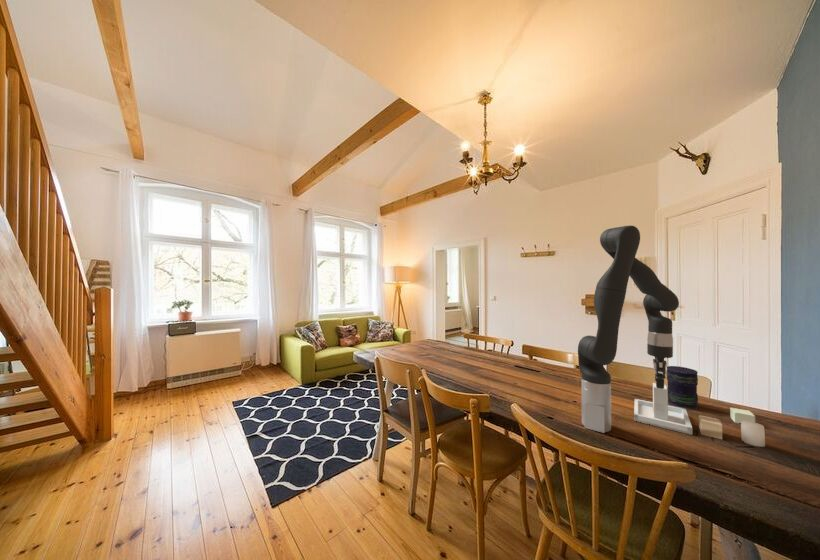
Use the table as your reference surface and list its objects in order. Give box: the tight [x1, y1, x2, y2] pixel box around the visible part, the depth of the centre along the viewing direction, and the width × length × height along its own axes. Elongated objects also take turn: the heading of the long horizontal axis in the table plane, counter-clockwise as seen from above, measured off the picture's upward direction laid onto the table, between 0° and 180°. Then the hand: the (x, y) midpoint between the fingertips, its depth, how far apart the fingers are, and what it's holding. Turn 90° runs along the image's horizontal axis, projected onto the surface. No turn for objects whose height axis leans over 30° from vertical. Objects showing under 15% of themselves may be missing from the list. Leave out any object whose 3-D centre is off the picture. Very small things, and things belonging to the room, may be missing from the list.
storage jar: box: [666, 365, 699, 410], centre depth 123 cm, size 10×10×15 cm
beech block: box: [698, 414, 723, 440], centre depth 100 cm, size 5×5×5 cm
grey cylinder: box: [740, 421, 766, 448], centre depth 94 cm, size 5×5×6 cm
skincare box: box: [652, 382, 669, 420], centre depth 111 cm, size 6×4×12 cm
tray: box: [633, 398, 693, 436], centre depth 111 cm, size 18×16×2 cm
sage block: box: [729, 407, 756, 424], centre depth 107 cm, size 5×5×4 cm
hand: (659, 384), depth 111 cm, fingers open, 8 cm apart
